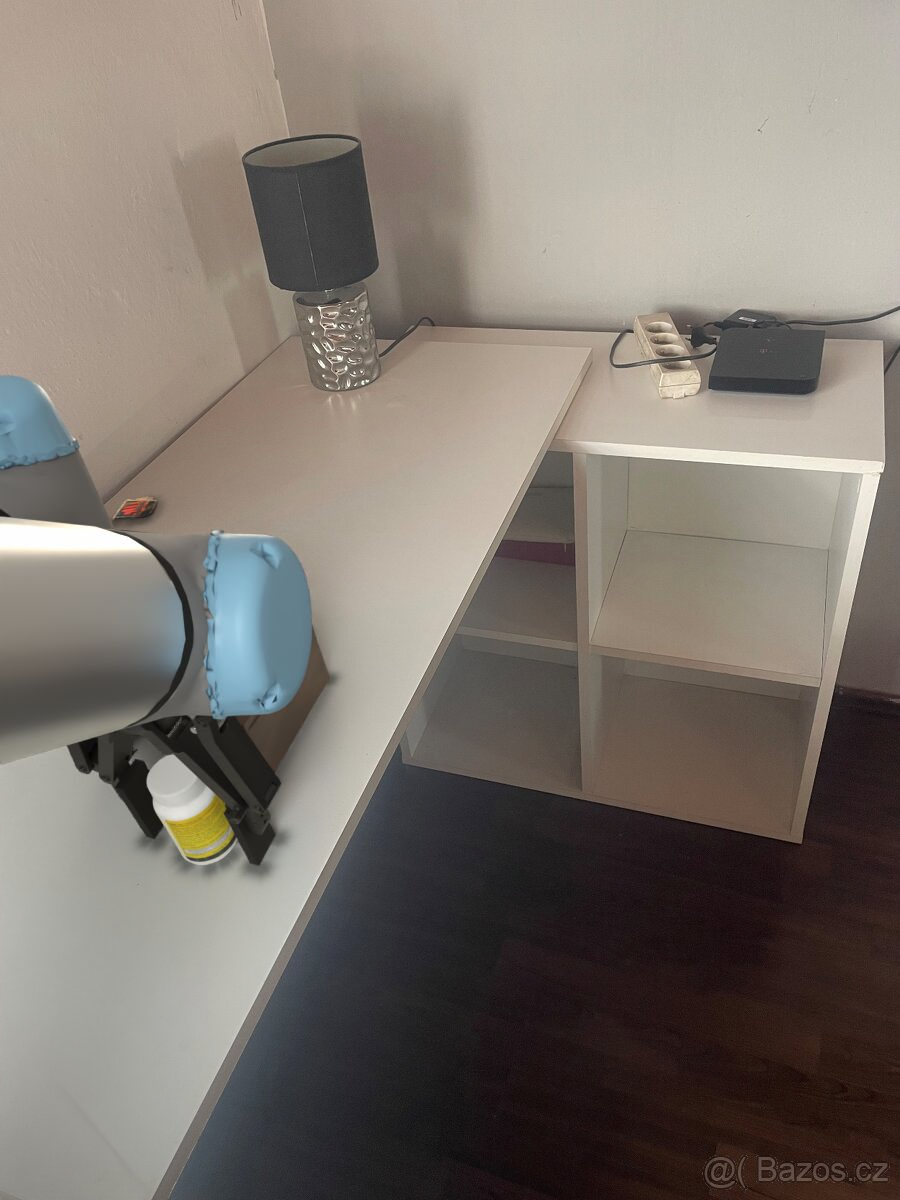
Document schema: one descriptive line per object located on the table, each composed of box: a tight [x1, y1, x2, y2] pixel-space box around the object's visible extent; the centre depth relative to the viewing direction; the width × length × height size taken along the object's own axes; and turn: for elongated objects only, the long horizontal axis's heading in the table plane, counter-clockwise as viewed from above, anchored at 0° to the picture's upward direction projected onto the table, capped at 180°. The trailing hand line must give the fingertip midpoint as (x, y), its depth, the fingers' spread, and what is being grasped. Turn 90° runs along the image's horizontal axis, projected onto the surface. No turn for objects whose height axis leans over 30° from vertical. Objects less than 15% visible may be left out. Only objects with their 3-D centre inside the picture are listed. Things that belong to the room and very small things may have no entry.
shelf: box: [177, 623, 330, 772], centre depth 74 cm, size 12×16×10 cm
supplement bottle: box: [147, 755, 238, 866], centre depth 65 cm, size 5×5×8 cm
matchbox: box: [111, 495, 157, 523], centre depth 105 cm, size 5×5×1 cm
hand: (210, 836), depth 67 cm, fingers open, 9 cm apart
